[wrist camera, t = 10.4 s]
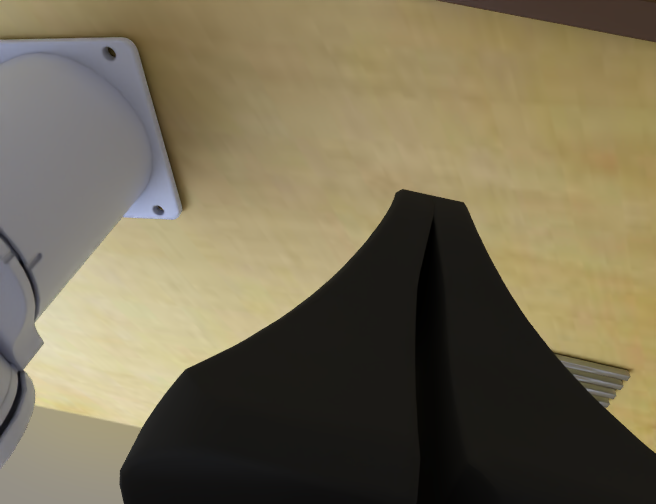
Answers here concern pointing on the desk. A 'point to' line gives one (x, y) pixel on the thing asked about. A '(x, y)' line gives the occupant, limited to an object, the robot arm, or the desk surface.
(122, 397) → the desk surface
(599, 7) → the spoon
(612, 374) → the fork
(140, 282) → the desk surface
